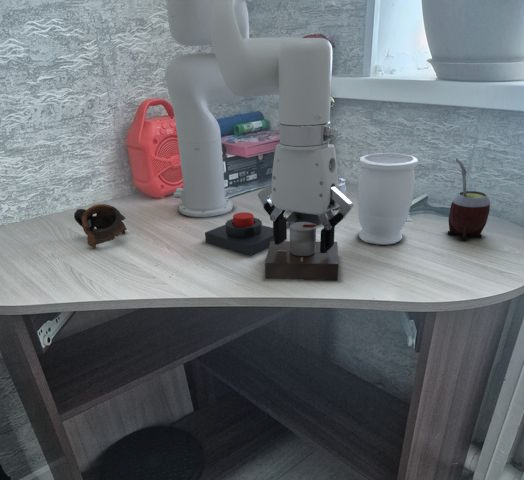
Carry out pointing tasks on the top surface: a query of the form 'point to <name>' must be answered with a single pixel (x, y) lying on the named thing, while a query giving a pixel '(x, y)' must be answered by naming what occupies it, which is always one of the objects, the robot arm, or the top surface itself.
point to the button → (243, 219)
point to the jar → (385, 196)
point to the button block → (241, 237)
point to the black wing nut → (303, 218)
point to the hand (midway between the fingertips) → (302, 245)
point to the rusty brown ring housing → (100, 223)
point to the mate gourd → (468, 211)
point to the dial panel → (301, 263)
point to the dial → (302, 238)
